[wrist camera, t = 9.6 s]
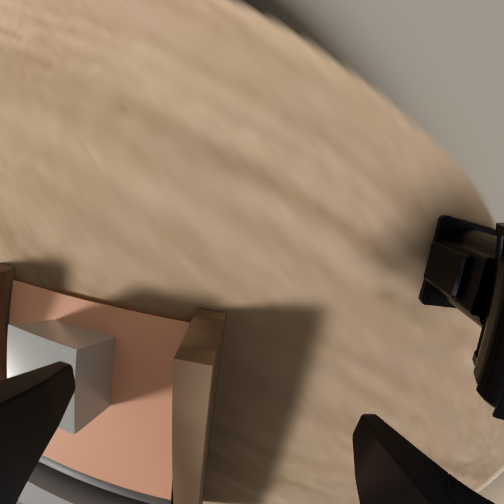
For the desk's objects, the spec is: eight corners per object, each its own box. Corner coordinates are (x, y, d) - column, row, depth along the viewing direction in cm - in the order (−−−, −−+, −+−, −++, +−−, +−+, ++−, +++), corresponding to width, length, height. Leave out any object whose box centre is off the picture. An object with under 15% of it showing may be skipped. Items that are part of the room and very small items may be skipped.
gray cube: (116, 337, 21) (76, 349, 15) (110, 405, 20) (74, 434, 14) (55, 319, 21) (8, 324, 15) (51, 384, 20) (8, 403, 14)
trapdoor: (195, 319, 24) (184, 326, 19) (173, 528, 21) (164, 558, 16) (31, 281, 24) (-3, 278, 19) (34, 477, 21) (11, 496, 16)
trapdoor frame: (226, 313, 21) (212, 365, 15) (202, 501, 27) (195, 545, 21) (-1, 262, 21) (-51, 285, 15) (45, 451, 27) (23, 484, 21)
